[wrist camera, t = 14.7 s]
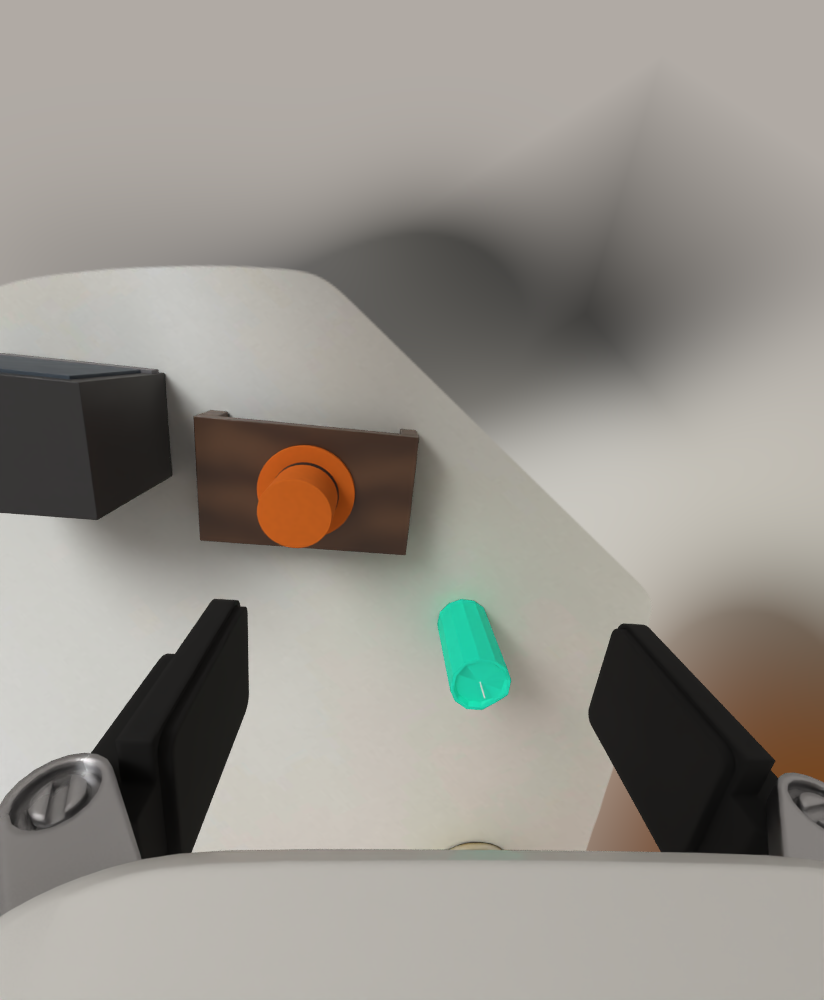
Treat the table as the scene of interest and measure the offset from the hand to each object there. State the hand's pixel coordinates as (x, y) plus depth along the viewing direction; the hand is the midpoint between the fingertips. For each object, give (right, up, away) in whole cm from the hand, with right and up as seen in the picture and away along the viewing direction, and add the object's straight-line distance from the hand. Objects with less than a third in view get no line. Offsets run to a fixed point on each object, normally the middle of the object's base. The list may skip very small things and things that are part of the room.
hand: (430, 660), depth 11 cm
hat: (-10, +5, +30) cm, 32 cm away
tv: (-31, +12, +30) cm, 45 cm away
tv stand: (-11, +6, +33) cm, 36 cm away
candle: (+6, -10, +40) cm, 42 cm away
